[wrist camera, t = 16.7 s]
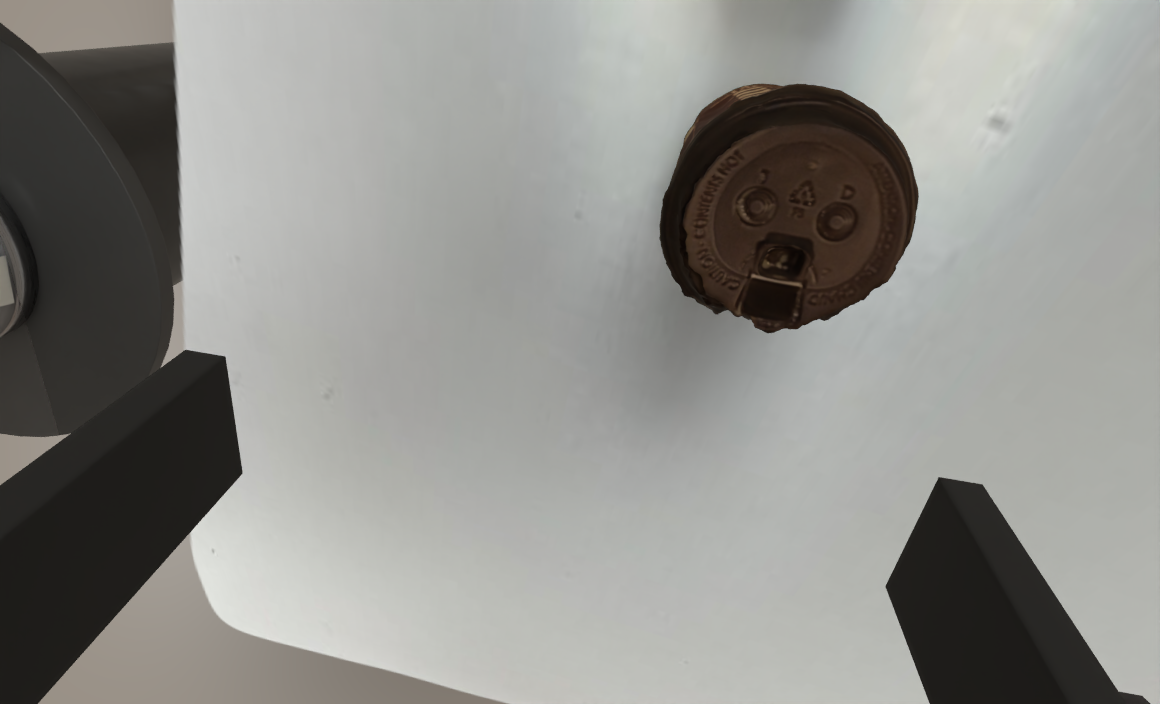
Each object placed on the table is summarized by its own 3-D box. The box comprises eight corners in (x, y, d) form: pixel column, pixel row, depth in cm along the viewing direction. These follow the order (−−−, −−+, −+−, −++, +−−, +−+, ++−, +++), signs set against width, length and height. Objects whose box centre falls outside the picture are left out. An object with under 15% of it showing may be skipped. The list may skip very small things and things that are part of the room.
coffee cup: (727, 267, 36) (752, 391, 24) (627, 147, 34) (604, 222, 22) (874, 160, 32) (984, 246, 21) (775, 17, 30) (837, 27, 19)
